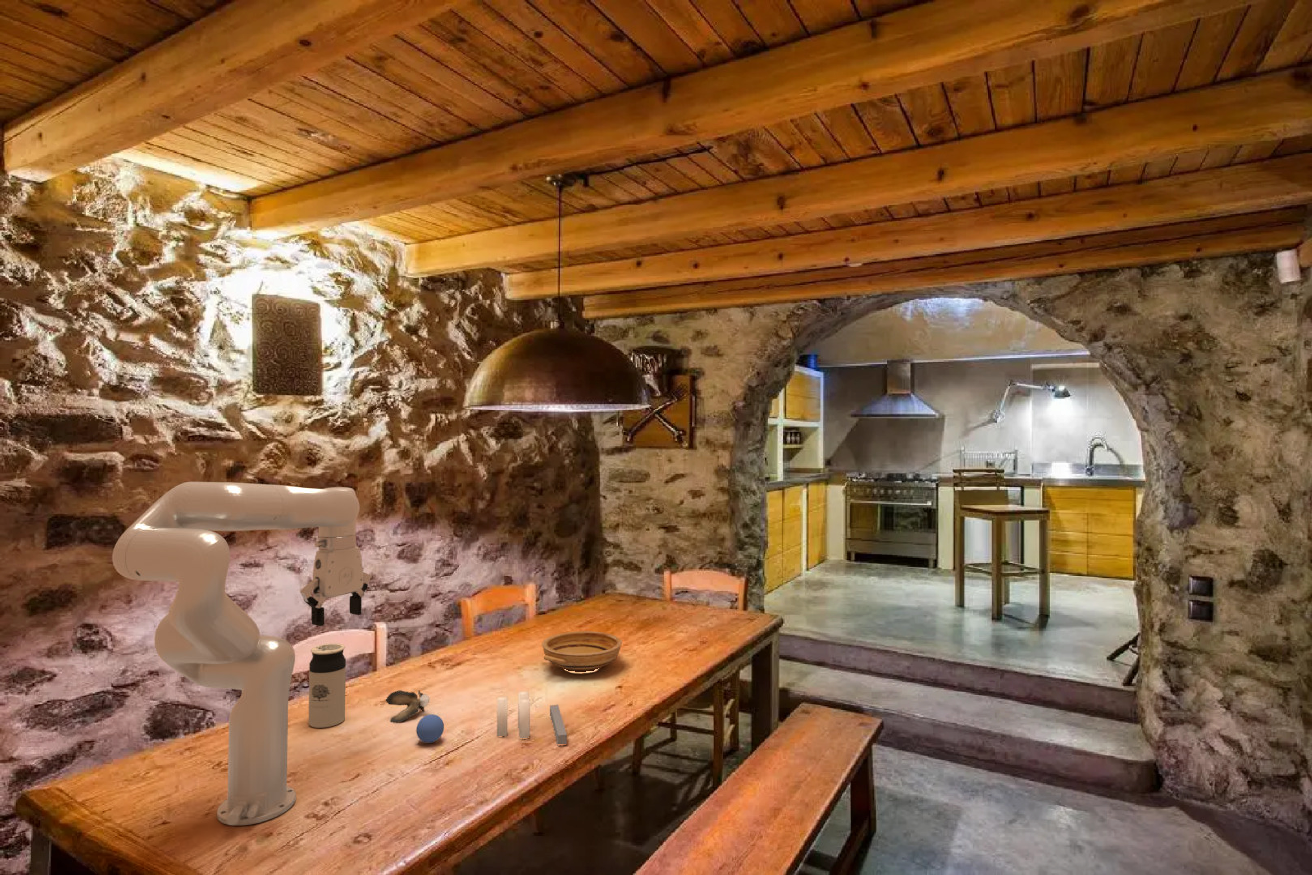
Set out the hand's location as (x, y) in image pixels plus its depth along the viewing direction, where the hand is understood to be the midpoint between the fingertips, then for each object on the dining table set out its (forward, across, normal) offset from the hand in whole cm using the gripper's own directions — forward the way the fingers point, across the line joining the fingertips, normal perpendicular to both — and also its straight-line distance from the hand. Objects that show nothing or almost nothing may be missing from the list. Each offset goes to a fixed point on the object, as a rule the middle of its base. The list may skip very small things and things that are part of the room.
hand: (337, 619), depth 152 cm
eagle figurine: (+29, +20, -1) cm, 35 cm away
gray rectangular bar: (+29, +30, -39) cm, 57 cm away
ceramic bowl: (+30, +70, -20) cm, 79 cm away
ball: (+26, +11, -17) cm, 33 cm away
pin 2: (+29, +23, -34) cm, 50 cm away
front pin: (+29, +22, -29) cm, 46 cm away
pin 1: (+29, +27, -31) cm, 50 cm away
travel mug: (+29, +8, +13) cm, 33 cm away
